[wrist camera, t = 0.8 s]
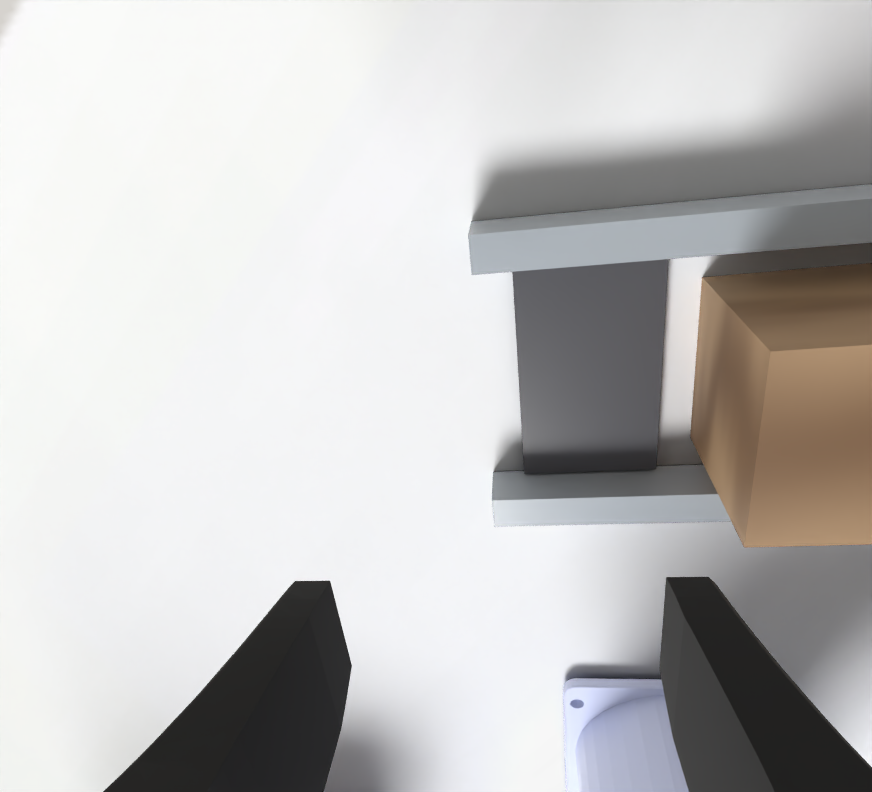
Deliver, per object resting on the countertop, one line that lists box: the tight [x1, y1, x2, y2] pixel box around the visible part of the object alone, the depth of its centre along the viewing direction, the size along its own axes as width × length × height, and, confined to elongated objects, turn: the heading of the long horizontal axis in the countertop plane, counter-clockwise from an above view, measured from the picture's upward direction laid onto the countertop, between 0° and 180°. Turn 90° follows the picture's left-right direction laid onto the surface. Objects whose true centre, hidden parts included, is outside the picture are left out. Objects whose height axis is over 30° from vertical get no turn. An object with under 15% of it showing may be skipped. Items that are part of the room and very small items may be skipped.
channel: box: [468, 184, 872, 527], centre depth 16 cm, size 9×20×2 cm, turn 96°
